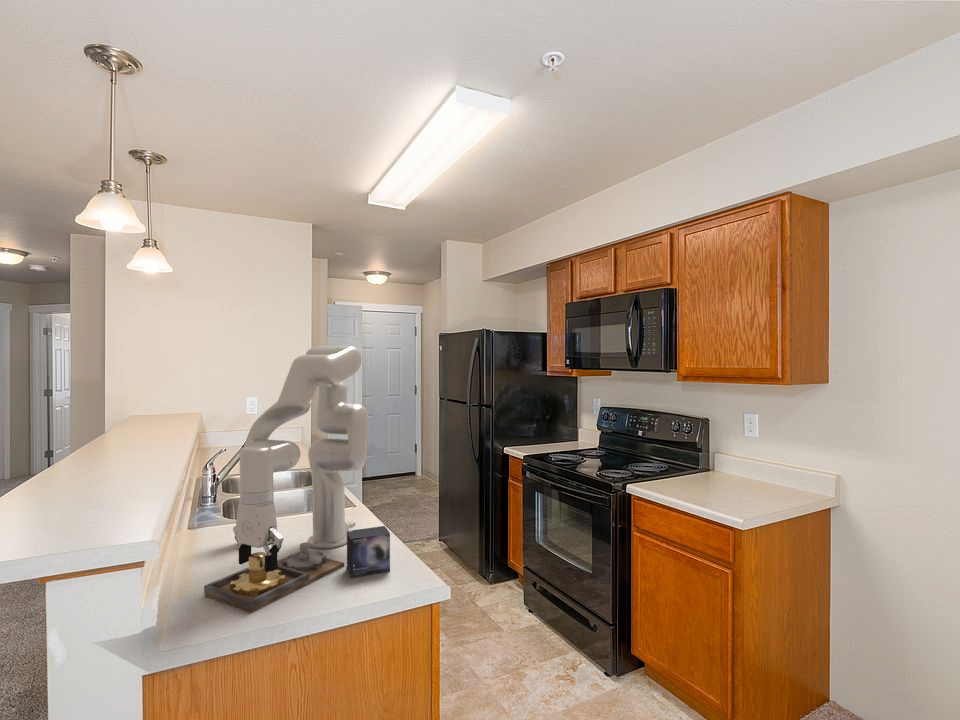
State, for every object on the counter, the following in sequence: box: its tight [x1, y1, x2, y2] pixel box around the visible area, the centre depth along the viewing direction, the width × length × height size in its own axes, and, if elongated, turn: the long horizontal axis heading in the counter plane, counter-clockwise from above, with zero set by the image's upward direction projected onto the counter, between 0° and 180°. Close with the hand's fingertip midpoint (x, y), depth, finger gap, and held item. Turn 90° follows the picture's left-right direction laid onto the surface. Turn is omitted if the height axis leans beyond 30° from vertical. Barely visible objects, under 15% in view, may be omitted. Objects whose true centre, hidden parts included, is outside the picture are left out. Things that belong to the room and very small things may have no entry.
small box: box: [346, 525, 391, 579], centre depth 138 cm, size 11×6×10 cm, turn 114°
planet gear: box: [230, 551, 285, 598], centre depth 127 cm, size 12×12×8 cm
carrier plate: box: [203, 542, 345, 614], centre depth 133 cm, size 29×17×6 cm, turn 150°
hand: (258, 566), depth 127 cm, fingers open, 9 cm apart
